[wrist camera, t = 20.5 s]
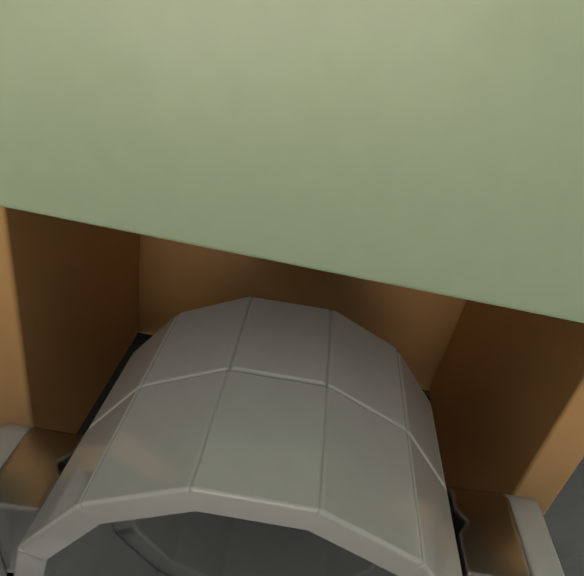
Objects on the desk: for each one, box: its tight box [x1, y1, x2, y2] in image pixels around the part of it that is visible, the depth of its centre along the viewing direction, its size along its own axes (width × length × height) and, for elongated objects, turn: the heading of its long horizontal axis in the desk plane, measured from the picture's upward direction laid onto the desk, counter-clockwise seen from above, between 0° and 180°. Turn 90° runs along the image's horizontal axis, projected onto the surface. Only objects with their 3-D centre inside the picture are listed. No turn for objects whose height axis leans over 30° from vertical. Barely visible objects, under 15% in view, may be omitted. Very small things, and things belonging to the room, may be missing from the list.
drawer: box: [0, 206, 584, 515], centre depth 13 cm, size 19×12×7 cm, turn 170°
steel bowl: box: [14, 296, 463, 576], centre depth 9 cm, size 6×6×4 cm
